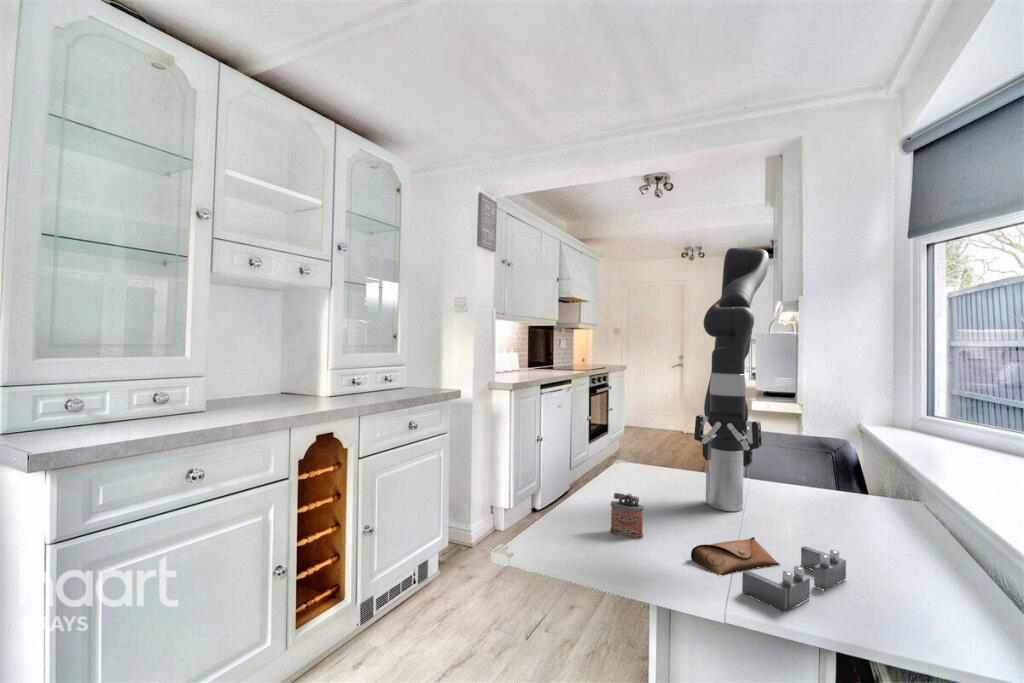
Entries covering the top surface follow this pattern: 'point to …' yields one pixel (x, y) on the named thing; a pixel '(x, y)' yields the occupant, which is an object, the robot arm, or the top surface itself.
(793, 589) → the bracket
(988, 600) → the top surface
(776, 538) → the top surface
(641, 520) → the lighter
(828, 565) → the bracket
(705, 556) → the sunglasses case
